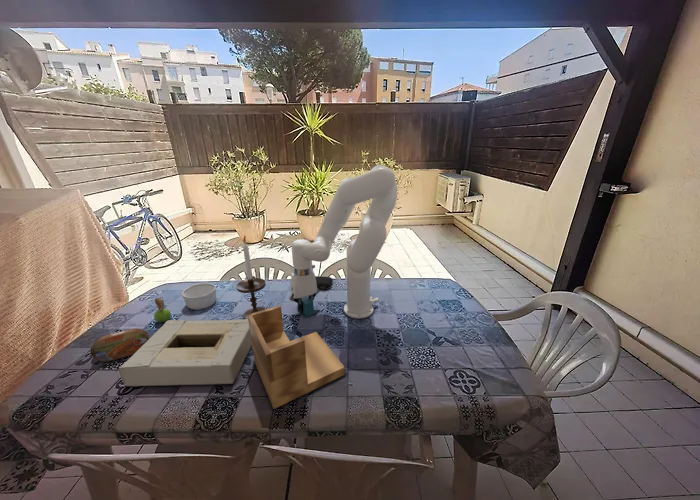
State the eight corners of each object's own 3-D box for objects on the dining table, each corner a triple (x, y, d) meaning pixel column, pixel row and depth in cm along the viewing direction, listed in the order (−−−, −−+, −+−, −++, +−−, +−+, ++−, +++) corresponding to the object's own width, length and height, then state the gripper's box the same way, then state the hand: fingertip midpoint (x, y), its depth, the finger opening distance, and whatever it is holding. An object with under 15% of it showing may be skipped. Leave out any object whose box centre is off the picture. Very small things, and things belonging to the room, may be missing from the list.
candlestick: (273, 316, 111) (263, 235, 99) (246, 326, 105) (232, 240, 93) (263, 305, 119) (253, 228, 107) (238, 313, 113) (224, 233, 101)
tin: (94, 365, 86) (85, 343, 83) (98, 358, 89) (89, 337, 86) (151, 349, 93) (144, 329, 90) (152, 344, 96) (146, 324, 93)
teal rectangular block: (305, 304, 120) (304, 292, 118) (314, 314, 113) (313, 301, 111) (298, 306, 118) (297, 294, 116) (306, 316, 111) (305, 304, 109)
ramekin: (223, 302, 121) (220, 289, 119) (192, 315, 112) (188, 300, 110) (210, 293, 130) (208, 280, 127) (180, 304, 120) (177, 290, 118)
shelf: (316, 338, 98) (314, 294, 92) (344, 374, 82) (344, 325, 76) (254, 362, 87) (247, 314, 81) (273, 409, 71) (266, 354, 65)
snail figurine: (161, 327, 105) (153, 300, 100) (153, 322, 108) (145, 295, 104) (176, 320, 109) (169, 294, 105) (167, 315, 112) (160, 290, 108)
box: (258, 333, 101) (170, 335, 100) (255, 316, 98) (165, 318, 97) (236, 385, 79) (123, 388, 78) (232, 365, 77) (115, 367, 75)
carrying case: (300, 289, 132) (329, 291, 131) (299, 284, 131) (329, 285, 130) (305, 279, 142) (333, 281, 141) (305, 274, 141) (333, 276, 140)
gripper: (317, 262, 116) (319, 300, 122) (279, 271, 108) (283, 311, 114) (325, 268, 110) (327, 307, 116) (286, 278, 102) (290, 319, 108)
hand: (305, 308), depth 115 cm, fingers closed on teal rectangular block, 3 cm apart
